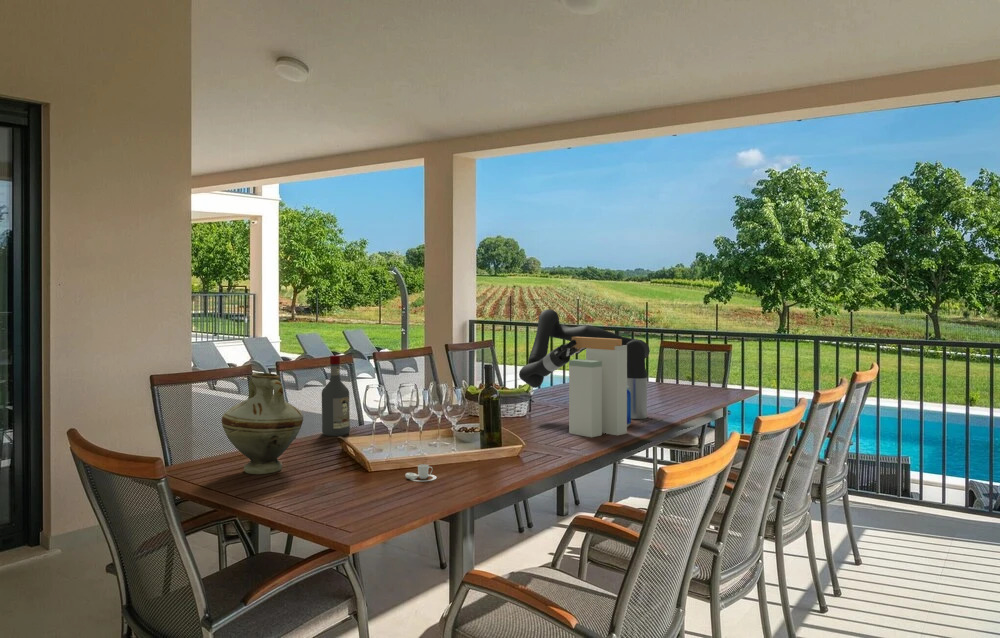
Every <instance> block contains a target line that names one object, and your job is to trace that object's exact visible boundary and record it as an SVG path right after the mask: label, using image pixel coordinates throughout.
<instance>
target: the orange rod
mask: <svg viewBox="0 0 1000 638" xmlns="http://www.w3.org/2000/svg"><path fill="white" fill-rule="evenodd" d="M574 339H575V340H576V343H577V344H576V345H575V346H573V347H575V348H576V347H577V348H592V349H606V350H615V346H622V339H610V338H592V337H572V340H574Z"/></svg>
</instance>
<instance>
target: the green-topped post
mask: <svg viewBox="0 0 1000 638" xmlns="http://www.w3.org/2000/svg"><path fill="white" fill-rule="evenodd" d="M568 407H569V408H568V414H569V415H568V420H569V421H568V425H569V426H568V427H569V428H568V429H569V430H568V433H569V434H571V435H575V436H576V435H577V436H580V437H581V436H583V437H587V438H595V437H596V438H597V437H600V436H602V435H603V433H602V361H594V360H586V359H583V358H582V359H580V358H579V359H577V358H576V359H570V360H569V362H568Z"/></svg>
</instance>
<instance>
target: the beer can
mask: <svg viewBox="0 0 1000 638" xmlns="http://www.w3.org/2000/svg"><path fill="white" fill-rule="evenodd" d="M628 387H629V386H627V428H628V427H629V426H630V425H631V423H632V419H631V391H630V389H629V388H628Z"/></svg>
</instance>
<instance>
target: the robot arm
mask: <svg viewBox="0 0 1000 638" xmlns="http://www.w3.org/2000/svg"><path fill="white" fill-rule="evenodd" d="M559 317H560V316H559V314H558V313H557V311H556V310H554V309H549V308H548V309H545V310H542V311H541V313H540V314H539V316H538V322H537V330H536V334H535V338H534V342H533V345H532V348H531V350H530V354H529V357H528V360H527V364H526V365H523V366H522V367H521V369H520V370H519V373H518V376H519V378H520V380H522V381H523V382H524V383H525V384H527V385H528V386H530V387H531V388H534V389H537V388H539V387H541V385H542V384H543V382H544V379H545V377H547V376H548V375H550V374H552V373H553V372H555V371H557V370H559V369H560V368H563V366H565V365H566V364H569V360H571V357H572V356H574V355H578V354H580V353H582V352H583V351H586V348H577V347H573V346H575V345H576V344H577V343H576V340H575V339H574V340H572V337H592V338H610V339H622V345H627V386H629V387H628V388H629V389H630V391H631V420H632V419H634V420H644V419H647V418H648V371H647V369H646V358H648V356H649V355H650V346H649V345H648V344H647V342H645V341H644V340H642V339H639V338H638V339H636V338H631V337H626V336H621V335H618V334H616V333H613V332H611V331H608V330H605V329H603V328H599V327H597V326H594V325H589V324H585V325H579V326H575V327H574V326H572V327H571V326H568V325H565V324H561V323H560V318H559ZM550 338H555V339H559V340H564V341H569V342H567V343H565V344H563V343H562V344H561V345H560V346H557V347H555V348H554V349H552V350H551V351H549V345H550ZM548 351H549V353H548Z"/></svg>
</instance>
